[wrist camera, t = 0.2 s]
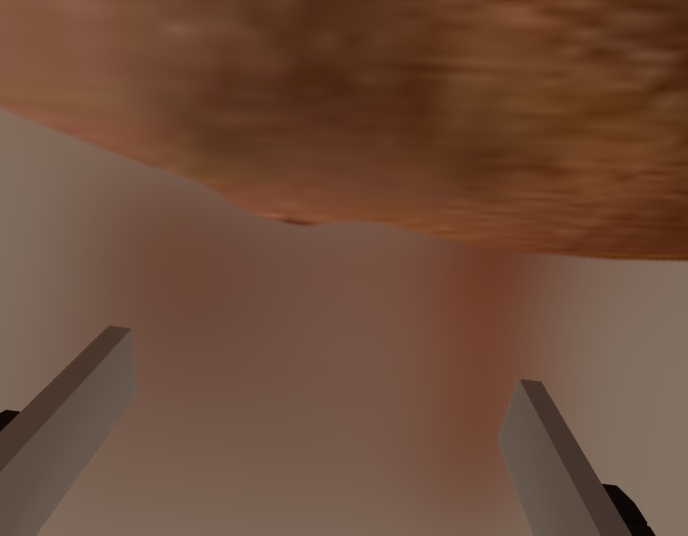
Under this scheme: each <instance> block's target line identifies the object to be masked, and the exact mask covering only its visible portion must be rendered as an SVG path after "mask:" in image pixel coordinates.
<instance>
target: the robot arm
mask: <svg viewBox="0 0 688 536" xmlns="http://www.w3.org/2000/svg"><path fill="white" fill-rule="evenodd" d="M136 395H137V388H136V376H135V363H134V351H133V338H132V329H131V328H124V327H116V326H108V327H107V328H106V329H105V330H104V331H103V332H102V333H101V334H100V335H99V336H98V337H97V338H96V339H95V340H94V341H92V342H91V344H89V345H88V346H87V348H85V349H84V350H83V351H82V352H81V353H80V354H79V355H78V356H77V357H76V358H75V359H74V360H73V361H72V362H71V363H70V364H69V365H68V366H67V367H66V368H65V369H64V370H63V371H62V372H61V373H60V374H59V375H58V376H57V377H56V378H55V379H54V380H53V381H52V382H51V383H50V384H49V385H48V386H47V387H46V388H45V389H43V390H42V391H41V392H40V393H39V394H38V395H37V396H36V397H35V398H34V399H33V400H32V401H31V402H30V403H29V404H28V405H27V406H26V407H25V408H24V409H23V410H22V411H21V412H19V411H11V410H5V411H3V412H1V413H0V536H36V535H37V533H38V532H39V531H40V529H41V528H42V527H43V525H44V524H45V522H46V521H47V520H48V518H49V517H50V515H51V514H52V513H53V511H54V510H55V508H56V507H57V506H58V504H59V503H60V501H61V500H62V499H63V497H64V495H65V494H66V493H67V492H68V490H69V489H70V487H71V486H72V484H73V483H74V482H75V480H76V479H77V477H78V476H79V474H80V473H81V472H82V470H83V469H84V468H85V466H86V465H87V463H88V462H89V461H90V459H91V458H92V456H93V455H94V454H95V452H96V451H97V449H98V448H99V447H100V445H101V444H102V442H103V441H104V439H105V438H106V437H107V435H108V434H109V432H110V431H111V430H112V428H113V427H114V425H115V424H116V423H117V421H118V420H119V418H120V417H121V415H122V414H123V413H124V411H125V410H126V409H127V407H128V406H129V404H130V403H131V401H132V400H133V399H134V397H135V396H136ZM497 440H498V443H499V446H500V448H501V451H502V454H503V456H504V459H505V462H506V464H507V467H508V470H509V472H510V475H511V478H512V481H513V483H514V486H515V488H516V491H517V494H518V497H519V499H520V502H521V505H522V507H523V510H524V512H525V515H526V518H527V521H528V523H529V526H530V529H531V531H532V534H533V536H655V534H654V532H653V531H652V529H651V528H650V527H649V526H647V522H646V520H645V518H644V517H643V515H642V514H641V512H640V511H639V509H638V508H637V506H636V504H635V503H634V502H633V501H632V500H631V499H630V498H629V497H628V496H627V495H626V494H625V493H624V492H623V491H622V490H621V489H620V488H619V487H618V486H615V485H607V484H601V482H600V480H599V479H598V477H597V475H596V473H595V472H594V470H593V469H592V467H591V465H590V463H589V462H588V460H587V458H586V456H585V455H584V453H583V451H582V450H581V448H580V446H579V445H578V443H577V441H576V440H575V438H574V436H573V435H572V433H571V431H570V429H569V428H568V426H567V424H566V423H565V421H564V419H563V417H562V416H561V414H560V413H559V411H558V409H557V407H556V406H555V404H554V402H553V401H552V399H551V397H550V396H549V394H548V392H547V390H546V389H545V387H544V385H543V384H542V382H540V381H532V380H525V379H519V381H518V383H517V386H516V389H515V392H514V395H513V398H512V400H511V403H510V406H509V408H508V411H507V415H506V417H505V420H504V423H503V425H502V428H501V431H500V434H499V437H498V439H497Z"/></svg>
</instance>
